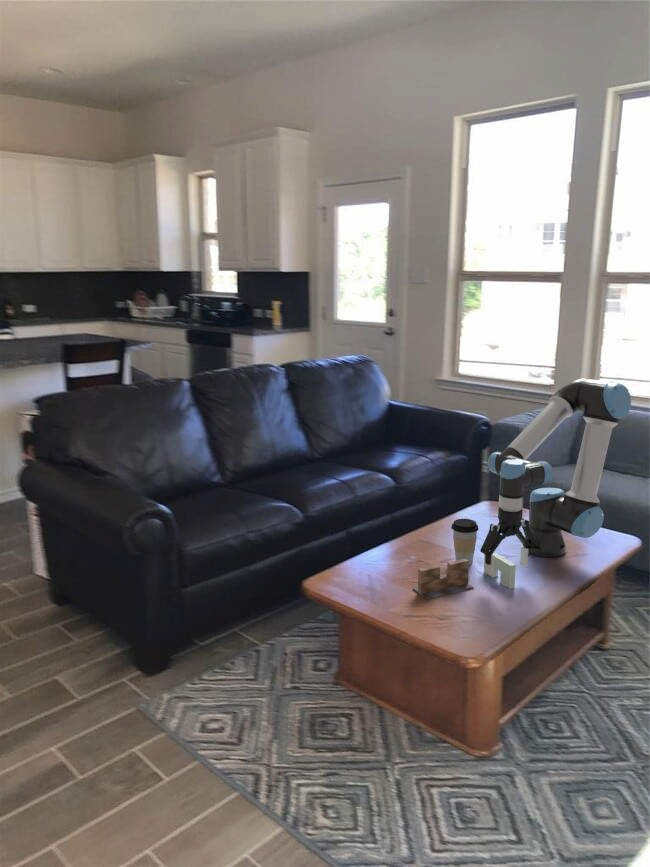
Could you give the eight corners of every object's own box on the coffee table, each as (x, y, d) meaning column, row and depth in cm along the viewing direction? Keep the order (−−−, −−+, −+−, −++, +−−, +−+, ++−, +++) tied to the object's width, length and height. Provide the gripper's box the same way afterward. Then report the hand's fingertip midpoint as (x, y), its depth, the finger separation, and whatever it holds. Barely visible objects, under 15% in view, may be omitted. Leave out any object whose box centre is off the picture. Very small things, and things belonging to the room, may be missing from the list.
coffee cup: (477, 568, 241) (478, 528, 238) (450, 566, 243) (451, 526, 240) (477, 557, 250) (478, 518, 247) (450, 555, 252) (451, 517, 249)
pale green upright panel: (483, 572, 239) (484, 550, 237) (488, 571, 239) (489, 549, 237) (509, 588, 226) (510, 565, 224) (514, 587, 227) (515, 564, 225)
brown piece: (459, 578, 234) (460, 555, 232) (473, 588, 227) (474, 564, 225) (413, 589, 227) (413, 565, 225) (426, 599, 220) (426, 574, 218)
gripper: (533, 499, 231) (529, 559, 235) (471, 509, 221) (468, 571, 226) (549, 506, 224) (544, 567, 229) (485, 517, 214) (482, 580, 219)
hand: (506, 569), depth 227 cm, fingers open, 13 cm apart
